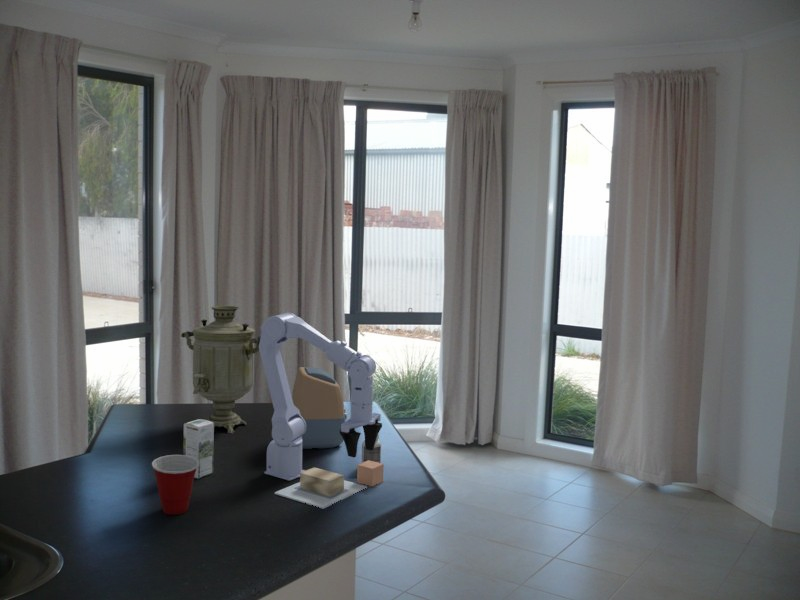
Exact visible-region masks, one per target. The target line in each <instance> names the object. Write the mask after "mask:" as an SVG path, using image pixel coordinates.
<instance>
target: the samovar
mask: <svg viewBox="0 0 800 600" xmlns="http://www.w3.org/2000/svg"><path fill="white" fill-rule="evenodd" d="M210 308H211V310H212V311H213V317H214V319H215V321H212V322H210V323H208V325H207V322H208V319H204V318H203V319H202V320H200V322H201V324H202V326H198V327H196V328H193V329H192V331H189V330H187V331H186V332H182V333H181V335H180V336H181V338H185V339H186V345H187V346H188V348H189V349H190V350H192V353H193V354H192V360H193V362H192V363H193V364H192V384H193V388H194V389H193V392H192V394H194V395H196V394H199V395H200V396H201V397H202V398H204V399H206V400H208V401H210V402H212V408H213V409H215V410H216V412H214V413H212V414H211V416H209V417H208V418H207V419H206V420H207V421H210V422H213V423H214V428H215V427H218V428H221V427H224V428H225V429H226V430H227V434H234V433H235V430H234V427H235V425H239V424H244V425H245V426H246V425H247V422H246V421H245V420H242V418H241V416H240V415H238V414H237V413H236V412H235V411H234V412H233V411H232V409H234V408H235V407H236V401H237V400H239V399H241V398H243V397H245V395H246V394H248V393H249V392H250V391H251V390H252V388H253V386H254V382H255V380H254V375H255V374H254V371H255V369H254V368H255V367H254V365H255V363H254V362H255V354H256V353H258V352H260V351H259V343H260V338H261V336H257V338H254V336H255V332H256V329H254V328H253V327H249V324H248V323H242V325H241V324H239V323H238V322H237V321H234V319H235V317H236V311H237V310H238V309H239V307H238V306H235V305H214V306H210ZM191 337H194V339H195V340H194V342H193V344H192V338H191ZM255 344H256V346H255ZM233 432H234V433H233Z"/></svg>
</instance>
